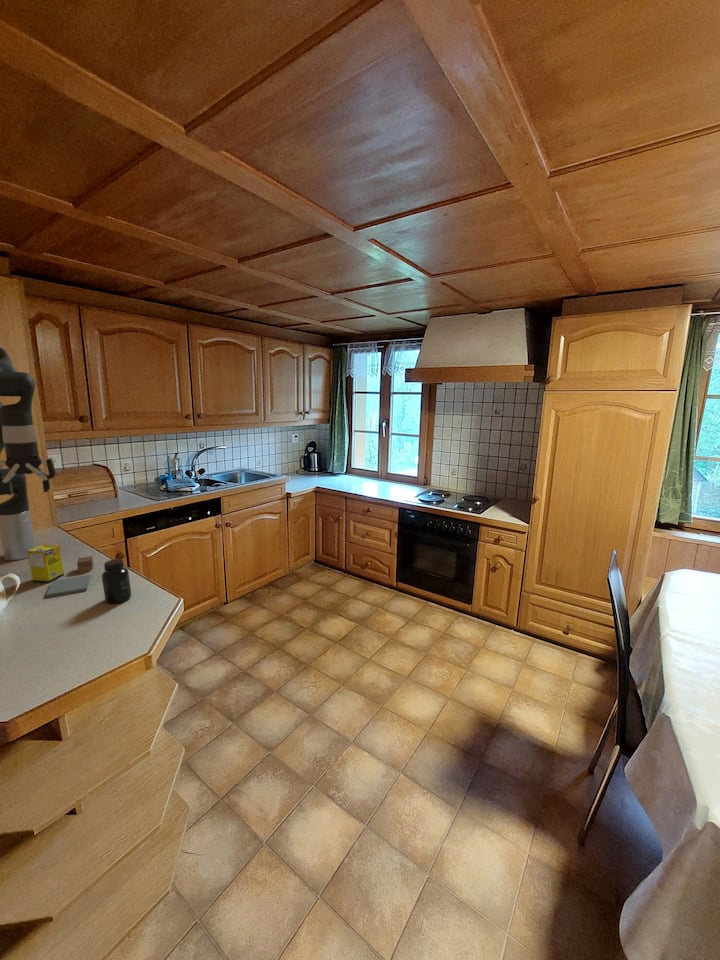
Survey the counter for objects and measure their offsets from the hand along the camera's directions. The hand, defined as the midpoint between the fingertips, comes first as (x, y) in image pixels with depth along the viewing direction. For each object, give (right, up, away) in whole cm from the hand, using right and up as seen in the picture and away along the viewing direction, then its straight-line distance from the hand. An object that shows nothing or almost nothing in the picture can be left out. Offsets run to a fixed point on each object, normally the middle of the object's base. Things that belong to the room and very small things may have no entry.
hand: (28, 493), depth 120 cm
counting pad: (+10, -30, +4) cm, 32 cm away
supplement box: (-1, -29, +9) cm, 30 cm away
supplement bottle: (+29, -32, -2) cm, 43 cm away
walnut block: (+6, -28, +17) cm, 33 cm away
